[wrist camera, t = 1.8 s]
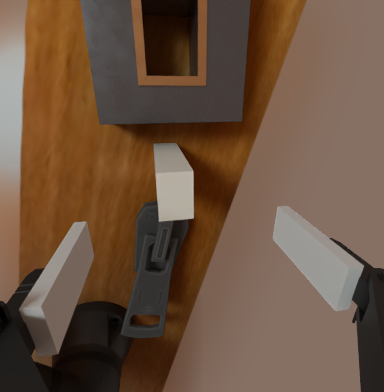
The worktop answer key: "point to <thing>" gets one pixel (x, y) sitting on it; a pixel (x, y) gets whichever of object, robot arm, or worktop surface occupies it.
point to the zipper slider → (153, 269)
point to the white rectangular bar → (173, 183)
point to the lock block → (167, 85)
